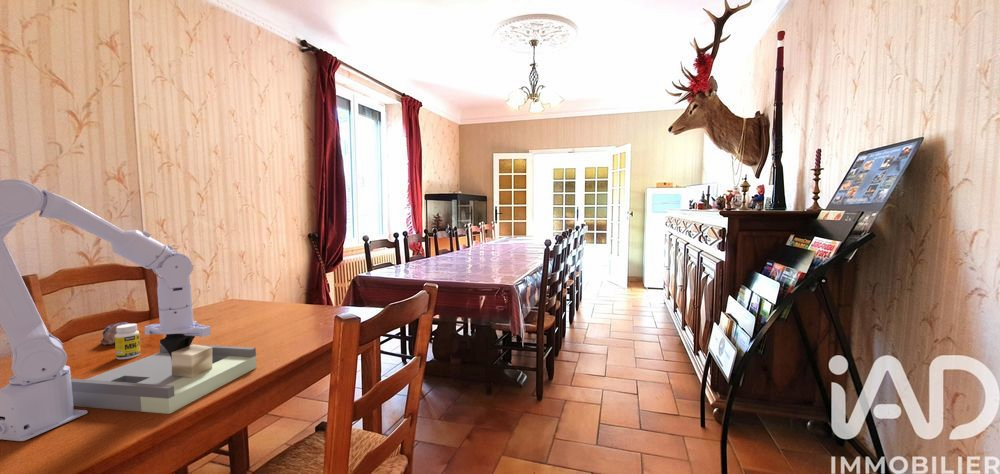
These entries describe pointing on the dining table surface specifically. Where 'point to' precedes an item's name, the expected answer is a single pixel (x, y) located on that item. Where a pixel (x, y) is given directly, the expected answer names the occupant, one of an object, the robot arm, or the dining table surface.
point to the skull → (110, 333)
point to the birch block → (191, 361)
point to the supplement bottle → (127, 341)
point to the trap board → (160, 382)
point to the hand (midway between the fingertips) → (180, 366)
